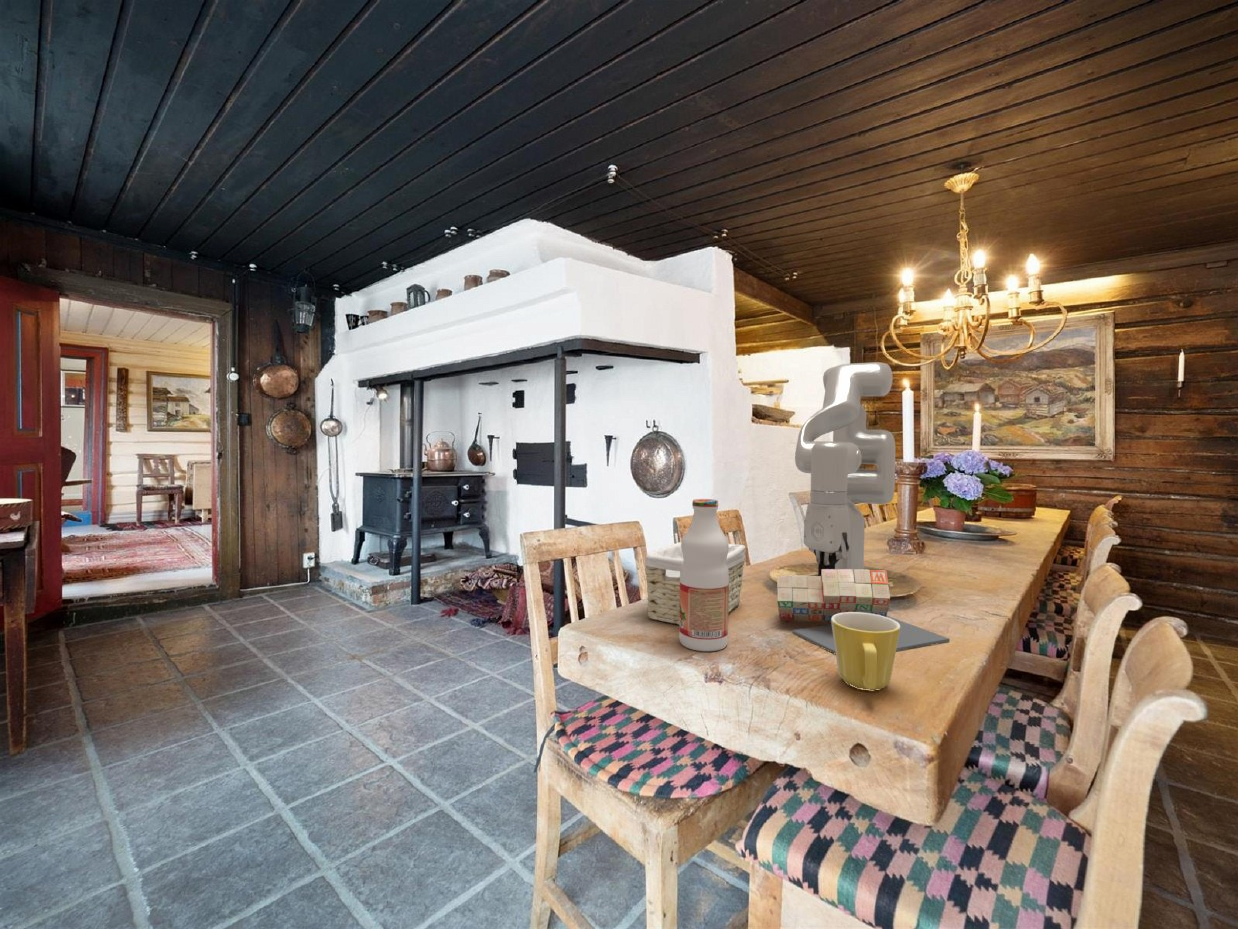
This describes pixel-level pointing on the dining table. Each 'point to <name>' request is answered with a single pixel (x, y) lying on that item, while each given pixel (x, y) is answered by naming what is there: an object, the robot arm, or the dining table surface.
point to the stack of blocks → (832, 594)
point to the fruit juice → (704, 581)
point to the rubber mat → (908, 633)
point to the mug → (865, 648)
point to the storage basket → (666, 580)
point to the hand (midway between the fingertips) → (826, 581)
